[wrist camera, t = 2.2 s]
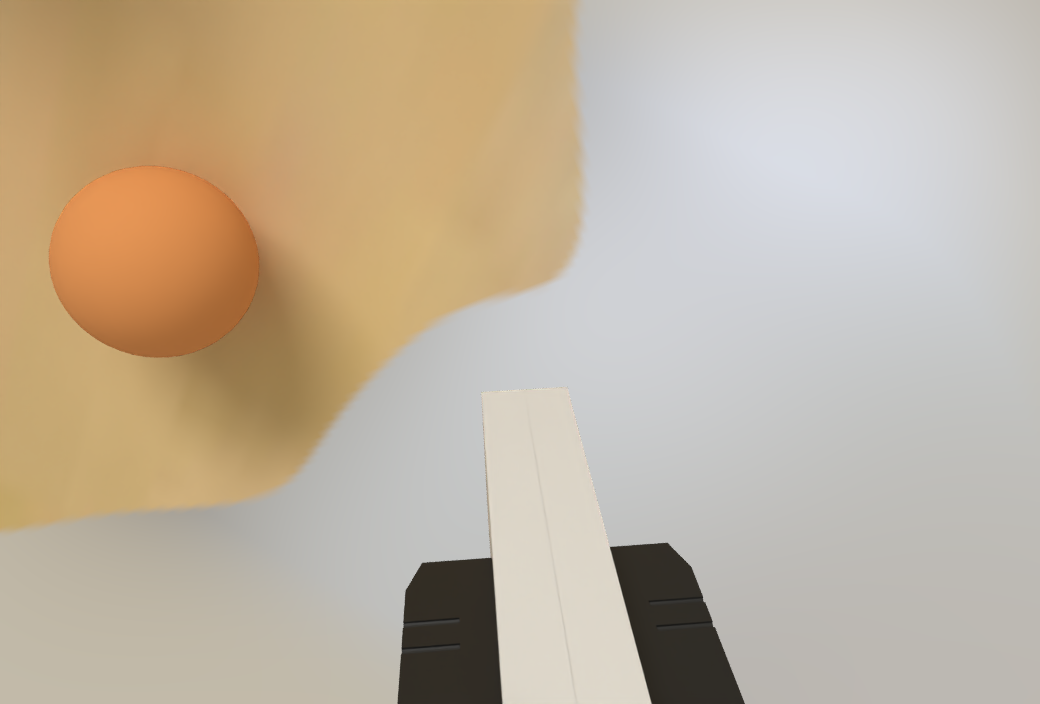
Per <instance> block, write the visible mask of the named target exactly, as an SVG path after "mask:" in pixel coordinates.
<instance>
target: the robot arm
mask: <svg viewBox="0 0 1040 704" xmlns="http://www.w3.org/2000/svg"><path fill="white" fill-rule="evenodd" d="M482 410H483V411H482V412H483V430H484V449H485V467H486V487H487V505H488V522H489V537H490V553H491V558H483V559H470V560H456V561H441V562H429V563H428V562H427V563H422V564H421V566H420V568H419V569H418V571H417V573H416V574H415V576H414V578H413V579H412V581H411V583H410V585H409V586H408V588H407V589H406V593H405V607H404V621H403V623H404V628H403V635H402V654H401V663H400V678H399V691H398V704H745V703H744V700H743V698H742V696H741V693H740V690H739V688H738V685H737V683H736V680H735V678H734V675H733V673H732V670H731V667H730V665H729V662H728V660H727V657H726V655H725V652H724V649H723V647H722V644H721V642H720V639H719V637H718V634H717V631H716V629H715V627H713V624H712V619H711V616H710V614H709V611H708V608H707V606H706V604H705V602H703V596H702V593H701V590H700V588H699V585H698V583H697V580H696V578H695V575H694V573H693V570H692V567H691V566H690V565H689V564H688V563H687V562H686V561H685V560H684V559H683V558H682V557H681V556H680V555H679V554H678V553H677V552H676V551H675V550H674V549H673V548H672V547H671V546H670V545H669V544H668V543H658V544H645V545H632V546H617V547H610V546H609V543H608V539H607V535H606V531H605V528H604V524H603V520H602V517H601V513H600V509H599V505H598V502H597V498H596V494H595V490H594V486H593V483H592V479H591V475H590V471H589V468H588V464H587V460H586V457H585V453H584V449H583V445H582V442H581V438H580V434H579V430H578V426H577V423H576V419H575V415H574V412H573V408H572V404H571V400H570V396H569V393H568V389H567V387H559V388H542V389H526V390H511V391H510V390H509V391H492V392H482Z"/></svg>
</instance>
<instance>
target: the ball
mask: <svg viewBox="0 0 1040 704" xmlns="http://www.w3.org/2000/svg"><path fill="white" fill-rule="evenodd" d="M49 265H50V273H51V278H52V281H53V285H54V288H55V290H56V293H57V295H58V297H59V299H60V301H61V303H62V304H63V306H64V308H65V309H66V310H67V312H68V313H69V314H70V316H71V317H72V318H73V319H74V320H75V321H76V322H77V323H78V325H79V326H80V327H81V328H83V329H84V330H85V331H86V332H87V333H89V334H90V335H91V336H93V337H94V338H96V339H97V340H99V341H101V342H102V343H104V344H106V345H108V346H110V347H113V348H115V349H117V350H120V351H123V352H126V353H129V354H133V355H138V356H143V357H173V356H180V355H185V354H189V353H192V352H195V351H198V350H200V349H203V348H205V347H207V346H209V345H211V344H213V343H215V342H216V341H218V340H219V339H221V338H222V337H223V336H225V335H226V334H227V333H228V332H230V331H231V330H232V329H233V328H234V327H235V326H236V325H237V324H238V322H239V321H240V320H241V318H242V317H243V316H244V314H245V313H246V311H247V310H248V308H249V306H250V304H251V302H252V300H253V297H254V294H255V291H256V287H257V283H258V277H259V256H258V249H257V245H256V242H255V238H254V235H253V233H252V231H251V229H250V226H249V224H248V222H247V221H246V219H245V217H244V216H243V214H242V213H241V211H240V210H239V209H238V207H237V206H236V205H235V204H234V203H233V202H232V201H231V200H230V199H229V198H228V196H226V195H225V194H224V193H223V192H222V191H220V190H219V189H218V188H217V187H215V186H213V185H212V184H210V183H209V182H207V181H205V180H203V179H201V178H199V177H197V176H195V175H192V174H190V173H187V172H184V171H181V170H176V169H172V168H168V167H160V166H139V167H132V168H125V169H121V170H117V171H114V172H111V173H109V174H107V175H104V176H102V177H100V178H98V179H96V180H94V181H93V182H91V183H89V184H88V185H86V186H85V187H84V188H83V189H82V190H80V191H79V192H78V193H77V194H76V195H75V196H74V197H73V198H72V199H71V200H70V201H69V203H68V204H67V205H66V206H65V208H64V209H63V211H62V213H61V215H60V216H59V218H58V220H57V222H56V224H55V227H54V230H53V233H52V237H51V243H50V248H49Z"/></svg>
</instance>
